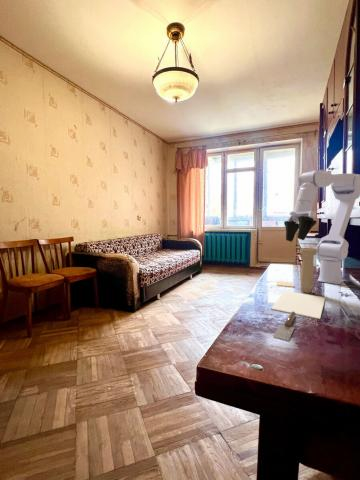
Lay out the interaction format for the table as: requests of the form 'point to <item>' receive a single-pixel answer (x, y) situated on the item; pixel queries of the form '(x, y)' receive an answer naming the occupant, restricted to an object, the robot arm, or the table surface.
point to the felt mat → (300, 304)
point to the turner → (285, 329)
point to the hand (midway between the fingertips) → (294, 240)
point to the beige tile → (285, 284)
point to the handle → (307, 269)
